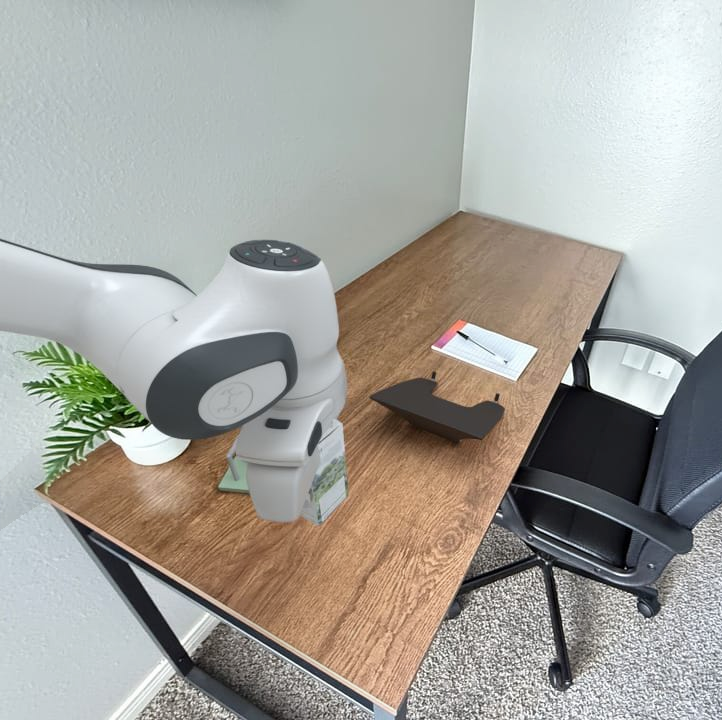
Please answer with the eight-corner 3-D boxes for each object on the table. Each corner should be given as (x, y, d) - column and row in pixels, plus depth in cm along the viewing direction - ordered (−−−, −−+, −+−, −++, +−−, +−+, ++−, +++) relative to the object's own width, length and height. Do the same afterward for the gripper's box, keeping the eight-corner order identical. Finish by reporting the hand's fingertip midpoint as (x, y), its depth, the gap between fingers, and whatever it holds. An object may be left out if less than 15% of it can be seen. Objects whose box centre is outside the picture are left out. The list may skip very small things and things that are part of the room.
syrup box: (316, 477, 64) (303, 400, 55) (350, 496, 62) (343, 420, 53) (285, 507, 60) (265, 430, 51) (320, 529, 58) (306, 453, 49)
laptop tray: (503, 436, 104) (514, 398, 102) (473, 474, 82) (486, 427, 80) (412, 402, 109) (421, 366, 108) (361, 430, 88) (371, 385, 86)
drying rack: (301, 498, 80) (295, 471, 75) (218, 490, 79) (207, 462, 75) (328, 430, 93) (324, 403, 88) (257, 423, 92) (249, 395, 87)
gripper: (304, 331, 56) (316, 411, 65) (224, 463, 40) (254, 548, 49) (356, 336, 57) (361, 416, 65) (297, 471, 41) (315, 553, 49)
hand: (315, 473), depth 57 cm, fingers closed on syrup box, 7 cm apart
